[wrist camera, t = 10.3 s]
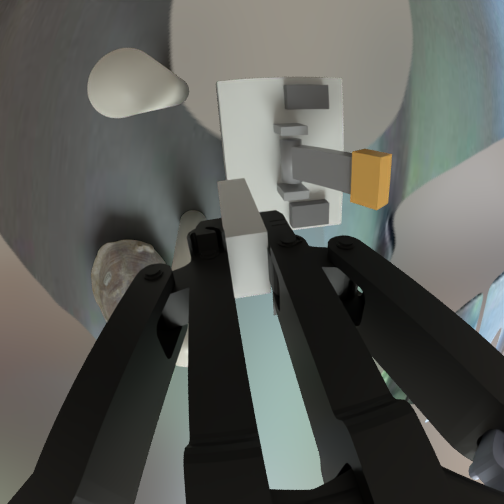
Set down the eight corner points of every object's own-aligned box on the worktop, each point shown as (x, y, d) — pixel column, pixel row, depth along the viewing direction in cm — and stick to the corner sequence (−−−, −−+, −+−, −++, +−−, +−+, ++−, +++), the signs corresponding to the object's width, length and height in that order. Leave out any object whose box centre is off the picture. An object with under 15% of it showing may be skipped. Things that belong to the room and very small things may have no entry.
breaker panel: (215, 84, 27) (218, 79, 20) (323, 79, 28) (355, 77, 21) (230, 218, 35) (236, 251, 28) (325, 207, 36) (351, 236, 29)
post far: (177, 212, 34) (154, 337, 17) (204, 208, 34) (205, 331, 17) (182, 236, 36) (168, 368, 18) (208, 232, 36) (214, 364, 19)
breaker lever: (274, 140, 25) (380, 157, 18) (289, 137, 26) (391, 154, 19) (277, 181, 27) (376, 210, 20) (291, 176, 28) (387, 203, 21)
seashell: (107, 228, 29) (76, 359, 26) (199, 260, 35) (169, 376, 33) (99, 232, 36) (74, 335, 34) (173, 257, 43) (148, 352, 41)
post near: (157, 81, 26) (84, 59, 9) (187, 75, 26) (154, 40, 9) (161, 108, 28) (92, 126, 10) (190, 103, 28) (161, 109, 11)
